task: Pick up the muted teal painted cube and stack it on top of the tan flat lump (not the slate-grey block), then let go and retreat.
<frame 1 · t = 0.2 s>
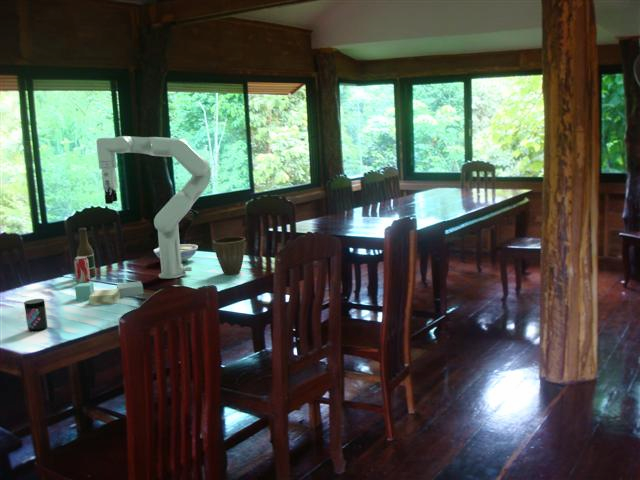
hand: (111, 202, 313), 37 cm above the table, tool pointing down, fingers open, 9 cm apart
beverage can: (83, 282, 319), on the table
tan flat lump: (105, 302, 281), on the table
teal cube: (85, 298, 288), on the table
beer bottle: (88, 277, 331), on the table
ramen bowl: (177, 262, 355), on the table
plant pot: (231, 273, 320), on the table
slate block: (130, 293, 292), on the table
supplement container: (38, 329, 245), on the table
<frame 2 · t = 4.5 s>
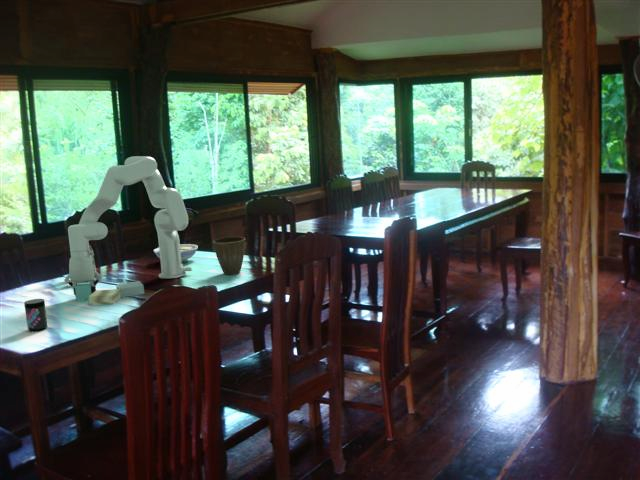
hand: (85, 295, 288), 1 cm above the table, tool pointing down, fingers closed on teal cube, 6 cm apart
teal cube: (85, 298, 288), on the table, touching gripper
everything else where it was.
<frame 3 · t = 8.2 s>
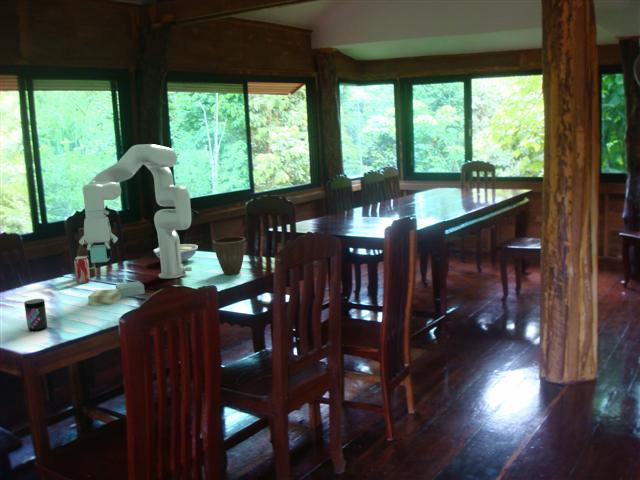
hand: (100, 258, 278), 18 cm above the table, tool pointing down, fingers closed on teal cube, 6 cm apart
teal cube: (100, 260, 278), point 17 cm above the table, touching gripper
everything else where it was.
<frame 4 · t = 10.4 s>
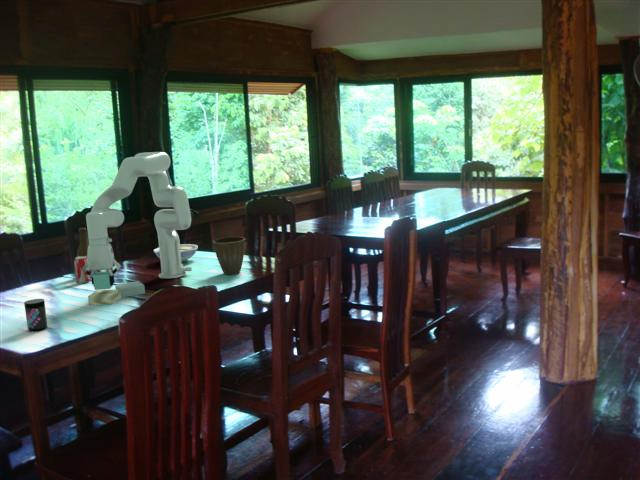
hand: (103, 285, 280), 7 cm above the table, tool pointing down, fingers closed on teal cube, 6 cm apart
teal cube: (103, 287, 280), point 6 cm above the table, touching gripper
everything else where it was.
when the fingers open (6 cm above the table, at t = 12.1 s): teal cube drops 1 cm, resting on tan flat lump.
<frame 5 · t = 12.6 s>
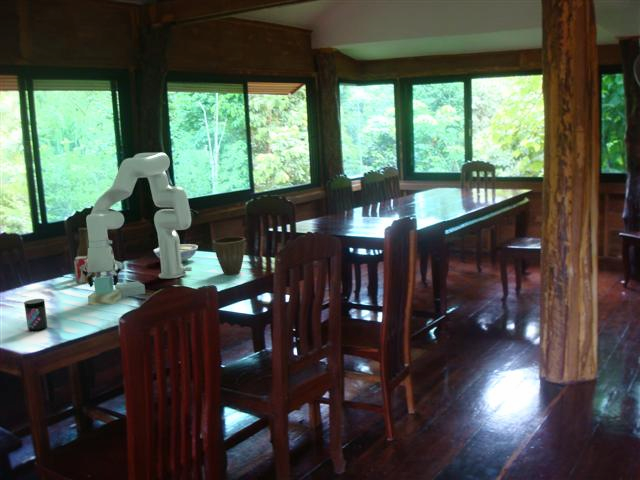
hand: (103, 285, 280), 7 cm above the table, tool pointing down, fingers open, 9 cm apart
tan flat lump: (105, 302, 281), on the table, touching teal cube
teal cube: (104, 292, 280), point 4 cm above the table, touching tan flat lump
everything else where it was.
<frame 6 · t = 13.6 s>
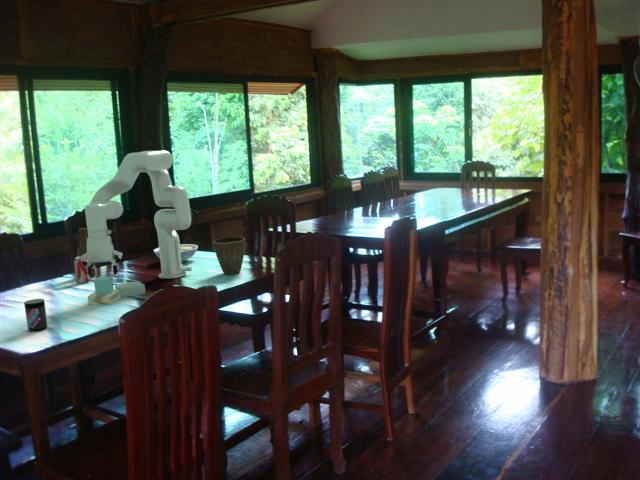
hand: (103, 275, 280), 11 cm above the table, tool pointing down, fingers open, 9 cm apart
nothing on the table moved.
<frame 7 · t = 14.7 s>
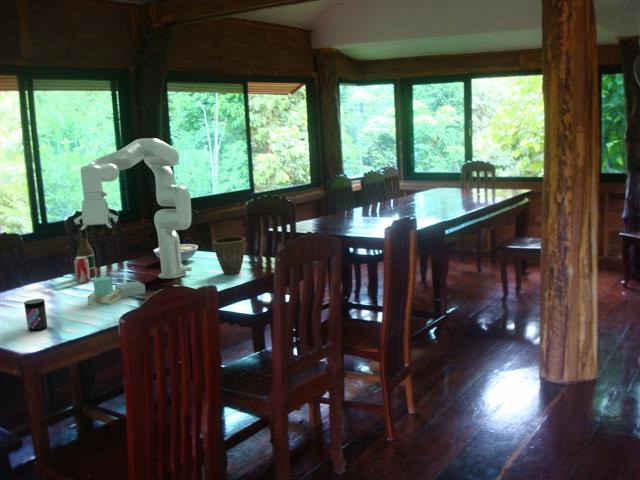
hand: (98, 238, 277), 26 cm above the table, tool pointing down, fingers open, 9 cm apart
nothing on the table moved.
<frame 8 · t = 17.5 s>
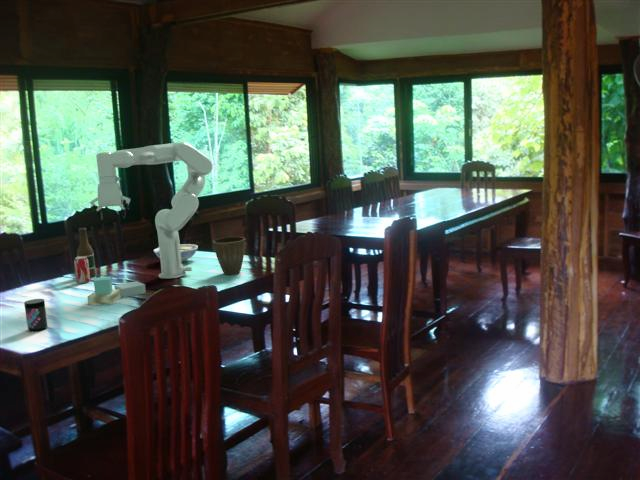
hand: (112, 219, 303), 30 cm above the table, tool pointing down, fingers open, 9 cm apart
nothing on the table moved.
at the end: teal cube inside the target area on the tan flat lump (0.2 cm from its centre), point 4.0 cm above the tan flat lump's base; teal cube tilted 1°; the gripper is holding nothing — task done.
